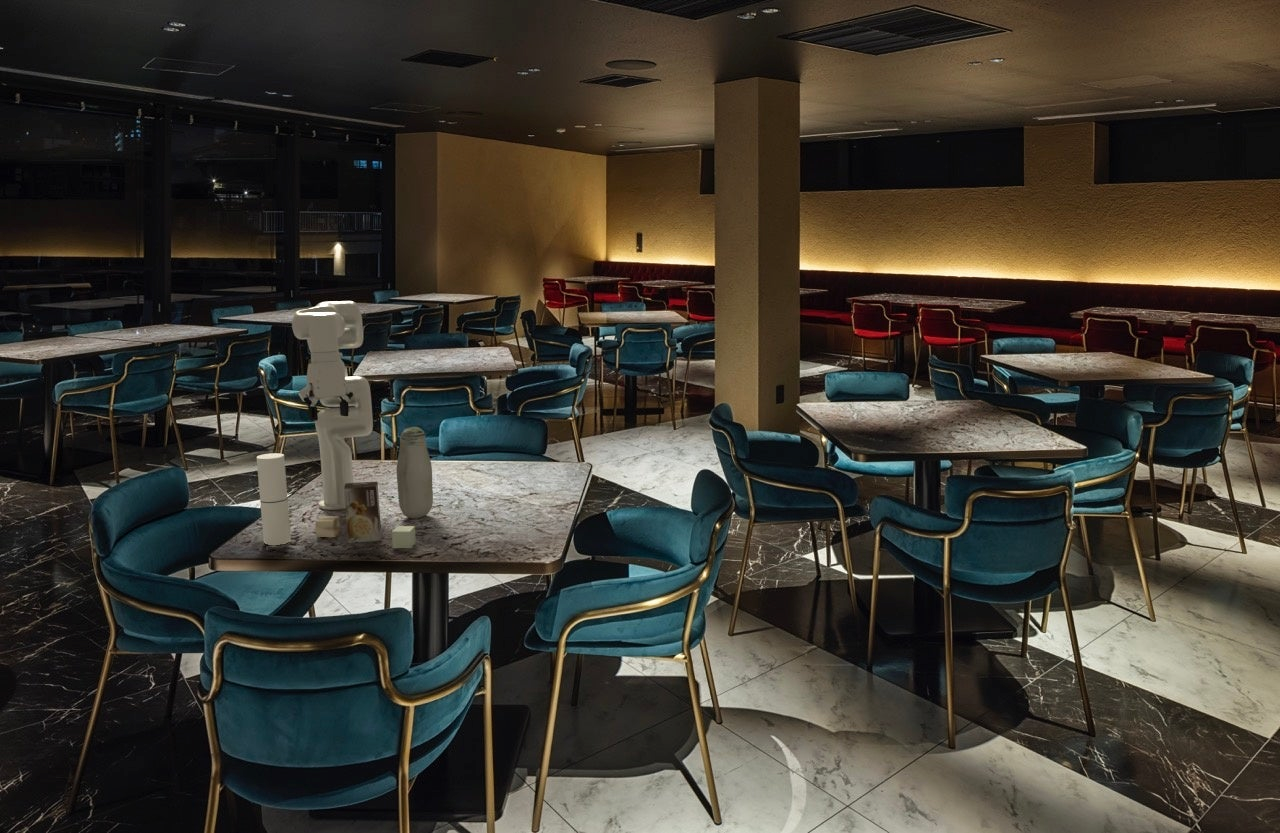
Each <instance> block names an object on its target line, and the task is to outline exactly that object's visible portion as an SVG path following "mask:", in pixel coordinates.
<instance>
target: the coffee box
mask: <svg viewBox="0 0 1280 833" xmlns="http://www.w3.org/2000/svg"><path fill="white" fill-rule="evenodd" d="M378 486H379V484H378V481H365V482H364V481H361V482H353V483H346V484H345V486H344V499H345V509H344V510H345V521H346V533H347V543H348V544H356V543H355V542H358V543H371V542H381V541H382V537H383V533H382V524H381V523H382V522H381V513H380V512H381V511H380V498H379V497H380V496H379V495H380V494H379V487H378Z"/></svg>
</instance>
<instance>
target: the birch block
mask: <svg viewBox="0 0 1280 833" xmlns="http://www.w3.org/2000/svg"><path fill="white" fill-rule="evenodd" d="M340 527H341V526H340V516H339V515H336V516H335V515H331V516H330V515H327V516H326V515H324V516H322V515H321V516H320V517H319V518H318V519H317V520H315V535H316V538H317V537H334V538H336V537H337V536H338V535H339V534H340V533H341V530H340ZM338 533H339V534H338ZM337 534H338V535H337ZM336 535H337V536H336Z"/></svg>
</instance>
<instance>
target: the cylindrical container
mask: <svg viewBox="0 0 1280 833" xmlns="http://www.w3.org/2000/svg"><path fill="white" fill-rule="evenodd" d="M285 464H286V463H285V454H283V453H277V452H276V453H275V452H273V453H264V454H260V455H257V456H256V466H257V477H258V478H257V479H258V480H257V481H258V489H259V490H258V491H259V501H260V502H259V503H260V504H259V505H260V513H261V523H262V524H261V525H262V526H261V527H262V537H263V544H264V543H265V544H268V545H280V544H284V543H287V542H290V541H292V537H291V527H290V526H291V525H290V524H291V523H290V513H289V499H288V487H287V475H286V474H287V473H286V465H285ZM290 543H291V542H290Z"/></svg>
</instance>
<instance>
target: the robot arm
mask: <svg viewBox="0 0 1280 833" xmlns="http://www.w3.org/2000/svg"><path fill="white" fill-rule="evenodd" d="M362 317H363V315H362V311H361V309H360V307H359V305H358V304H357V303H356V302H355V301H352V300H341V301H337V300H336V301H322V302H319V303H317V304H316V305H315V306H313V307H310V308H306V309H301V310H297V311H296V312H294V315H293V318H292V322H291V328H292V331H293V334H294V336H295V338H297V339H298V340H306V342H307V346H308V349H309V351H310V361H311V363H308V364H307V365H308V366H307V372H306V386H304V387H303V388H302V389H301V390H299V391H298V392H297V394H298V396H299V398H300V399H301V401H302V403H304V404H305V405H306V407H307V410H308V411H307V412H308V418H309V421H314V425H315V430H316V435H317V440H318V444H319V445H318V446H319V452H320V454H319V455H320V467H321V468H320V469H321V480H322V495H323V500H321V501H320V502H319V503H318V506H319V508H320V509H322V510H327V511H328V510H329V511H337V510H345V499H344V486H345V484H346V483H354V473H353V470H354V469H353V455H352V454H353V453H352V450H351V447H350V446H349V445H348V443H346V441H345V440H343V439H346V438H358V437H360V438H361V437H367V436H369V435H371V433H372V432H373V429H374V428H373V427H374V423H373V421H374V420H373V407H372V406H373V405H372V395H371V394H372V393H371V387H370V383H369V381H368V379H367V378H366V377H364V376H359V375H358V376H357V375H356V376H354V375H353V376H346V365H345V363H344V361H343V360H342V359H341V358H342V357H343V352H340V350H343V349H345V350H346V349H357V348H360V347H361V346H362V345H363V343H364V328H363V327H364V326H363V318H362ZM318 401H319V402H320V403H321V405H322V406H324V407H329V408H326V409H322V410H320V411H318V407H317V406H316V404H317V403H318Z"/></svg>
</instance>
